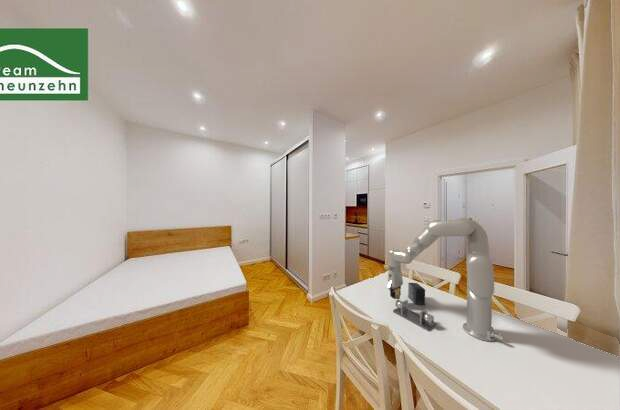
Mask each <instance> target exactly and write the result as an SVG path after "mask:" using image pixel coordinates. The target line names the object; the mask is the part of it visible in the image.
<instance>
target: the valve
mask: <svg viewBox="0 0 620 410" xmlns="http://www.w3.org/2000/svg"><path fill="white" fill-rule="evenodd" d="M392 289H393V287H392ZM400 291H401V289H400V288H399V287H397V288H395V291H394V292H395V298H393V297H391V298H392V299H393V300H400V299H401V295H400Z"/></svg>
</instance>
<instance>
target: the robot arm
mask: <svg viewBox="0 0 620 410" xmlns="http://www.w3.org/2000/svg"><path fill="white" fill-rule="evenodd" d="M440 237H441V238H442V237H444V238H445V237H447V238H448V237H465V239H466V253H467V254H466V259H465V260H466V262H465V264H466V278H467V279H466V286H467V287H466V322H465V323H463V324H462V329H463V331H464V332H466V333H467V334H468V335H470V336H472V337H473V338H475V339H478V340H481V341H486V342H494V341H496V339H498V340H499V341H501V342H504V336H503V335H502V333H500V332H497V331H495V330H494V327H493V326H492V323H493V322H492V319H493V318H492V316H493V315H492V314H493V313H492V312H493V311H492V310H493V295H494V293H495V277H494V275H495V273H494V265H493V262H492V259H491V257H490V248H489V247H490V246H489V238H488V234H487V232H486V230H485V229H484V228H483V226H481V225H480V224H479V223H478V222H476V221H475V220H472V219H470V218H468V217H467V218H466V217H460V218H457V219H449V220H440V219H434V220H431V222H429V223H428V224H427V226H426V227H424V228H423V229H422V231H421V232H419V234H417V235H416V237H415V239H414V240H413V241H412V242H411V244H409V245H408V246H407V247H406V248H405V249H404V250H403V251H400V250H399V249H395V248H390V249H388V250H387V263H388V264H387V265H388V272H387V273H388V274H387V283H388V284H387V289H388V290H389V295H390V297H391V298H392V297H393V298H395V292H394V291H395V288H397V287H399V288H400V296H401V295H402V294H401V290H402V286H403V284H404V280H403V273H402V267H401V265H402V264H403V265H409V264H411V263H412V262H413V260H415V259H416V258H417V257H418V256H419V255H420V254H421V253H422V252H423V251H424V250H425V249H428V248H430V247H431V246H432V245H433V244H434V243H435V242H436V241H437V240H438V239H440ZM392 287H393V289H392ZM393 298H392V299H393Z"/></svg>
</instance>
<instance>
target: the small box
mask: <svg viewBox="0 0 620 410" xmlns="http://www.w3.org/2000/svg"><path fill="white" fill-rule="evenodd" d="M407 285H408V286H407V287H408V289H407V291H408V293H407V297H408V299H409V300H410V301H411V302H413V303H414V304H415V305H419V306H425V305H426V289H425V288H424V287H423V286H421V285H420V284H419V283H417V282H408V283H407Z"/></svg>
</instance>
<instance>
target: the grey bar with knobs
mask: <svg viewBox="0 0 620 410" xmlns="http://www.w3.org/2000/svg"><path fill="white" fill-rule="evenodd" d="M408 302H409V301H408V299H406V300H400V299H396V300H395V307H396V308H394V309H393V310H392V313H393V314H395V315H397V316H400V317H402V318H403V319H405V320H407V321H409V322H411V323H413V324H415V325H416V326H418V327H420V328H421V329H424V330H426V331H427V332H429V331H430V330H431V329H433V328H434V327H435V326H437V322H436V321H435V316H434V315H432V314H430V313H428V309H427V308H423V310H421V311H419V313H417V312H415V311H413V310H411V309H410V308H409V306H408V304H409V303H408Z"/></svg>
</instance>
